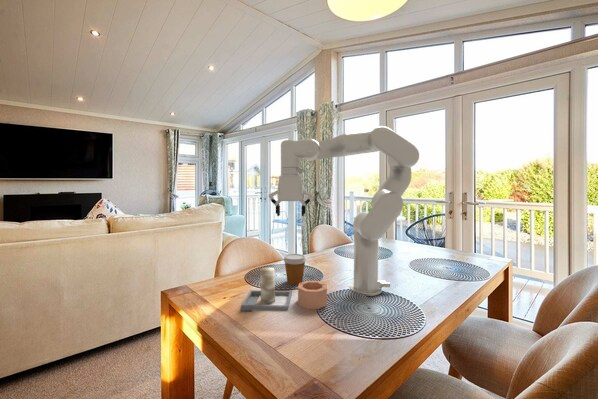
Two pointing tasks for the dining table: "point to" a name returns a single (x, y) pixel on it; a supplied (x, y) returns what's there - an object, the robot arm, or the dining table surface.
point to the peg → (267, 285)
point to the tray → (252, 299)
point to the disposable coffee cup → (294, 268)
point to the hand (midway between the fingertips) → (290, 215)
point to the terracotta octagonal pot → (312, 294)
